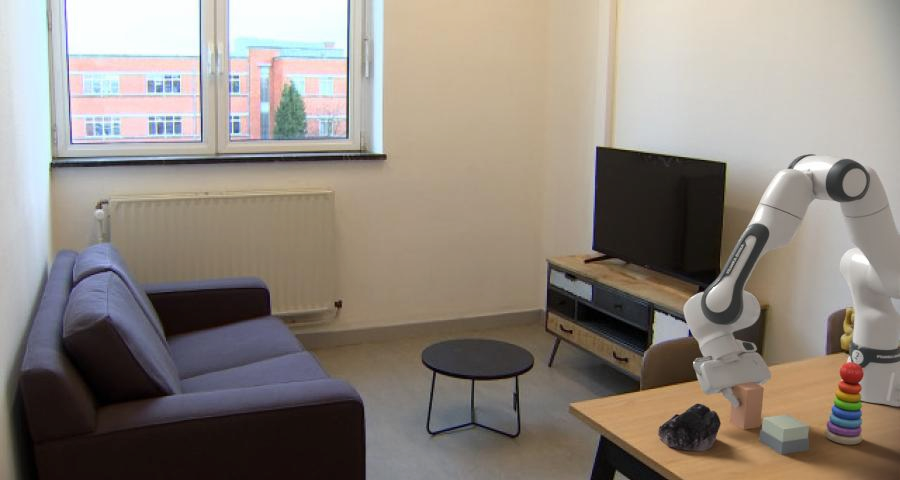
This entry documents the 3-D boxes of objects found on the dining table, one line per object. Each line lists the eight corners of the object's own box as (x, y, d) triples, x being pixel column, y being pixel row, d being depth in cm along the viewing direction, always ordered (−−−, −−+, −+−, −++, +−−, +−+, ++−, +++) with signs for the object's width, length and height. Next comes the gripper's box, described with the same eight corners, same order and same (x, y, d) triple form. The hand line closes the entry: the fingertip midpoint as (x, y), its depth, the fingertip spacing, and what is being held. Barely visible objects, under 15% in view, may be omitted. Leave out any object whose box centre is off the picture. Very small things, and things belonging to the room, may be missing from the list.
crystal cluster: (646, 438, 206) (648, 400, 203) (688, 423, 212) (691, 386, 209) (687, 464, 194) (689, 424, 191) (730, 447, 201) (733, 409, 198)
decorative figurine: (874, 352, 271) (879, 305, 268) (873, 360, 263) (878, 311, 261) (840, 347, 275) (845, 301, 272) (838, 354, 268) (843, 307, 265)
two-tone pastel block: (785, 437, 206) (787, 413, 205) (808, 450, 199) (810, 426, 198) (759, 441, 203) (761, 417, 202) (781, 455, 196) (783, 429, 195)
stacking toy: (859, 449, 200) (868, 371, 196) (821, 440, 204) (829, 364, 200) (863, 437, 206) (872, 361, 203) (827, 429, 210) (835, 355, 207)
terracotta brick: (746, 419, 216) (749, 380, 214) (760, 426, 211) (763, 387, 210) (729, 421, 214) (733, 383, 212) (743, 429, 210) (747, 390, 208)
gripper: (697, 353, 211) (723, 405, 204) (759, 342, 220) (786, 392, 213) (683, 365, 216) (708, 416, 209) (744, 354, 225) (770, 403, 218)
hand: (748, 404), depth 211 cm, fingers closed on terracotta brick, 5 cm apart
